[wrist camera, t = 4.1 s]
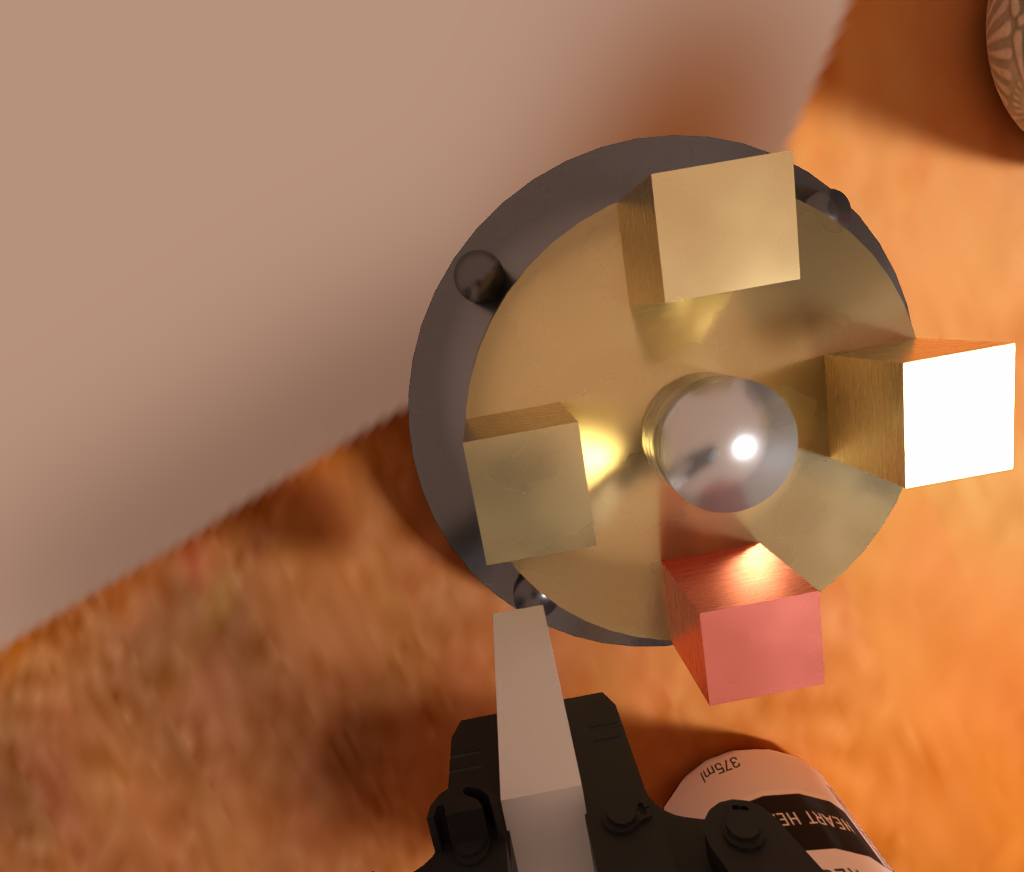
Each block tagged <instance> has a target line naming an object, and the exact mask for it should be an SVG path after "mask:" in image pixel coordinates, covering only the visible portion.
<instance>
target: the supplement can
mask: <svg viewBox="0 0 1024 872" xmlns="http://www.w3.org/2000/svg"><path fill="white" fill-rule="evenodd" d="M731 799H736V800H746V801H750V802H752V803H755V804H757V805H759V806H762V807H763V808H765V809H766V810H767V811H768V812H769V813H771V814H772V815H773V816H774V817H775V818H776V819H777V820H778V821H779V822H780V823H781V824H782V825H783V826H784V828H785V829H786V830H787V831H788V832H789V833H790V834H791V835H792V836H793V837H794V839H795V840H796V841H797V842H798V843H799V844H800V845H801V846H802V847H803V848H804V850H805V851H806V852H807V853H808V854H809V855H810V856H811V857H812V858H813V859H814V861H815V862H816V863H817V864H818V865H819V866H820V867H821V868H822V869H823V870H824V872H894V871H893V870H892V869H891V867H890V866H889V865H888V863H887V862H886V861H885V859H884V858H883V857H882V855H881V854H880V853H879V851H878V850H877V849H876V847H875V846H874V845H873V843H872V842H871V841H870V839H869V838H868V837H867V835H866V834H865V833H864V831H863V830H862V829H861V827H860V826H859V825H858V823H857V822H856V821H855V819H854V818H853V817H852V815H851V814H850V813H849V811H848V810H847V808H846V807H845V806H844V804H843V803H842V802H841V800H840V799H839V798H838V796H837V795H836V794H835V792H834V791H833V790H832V788H831V787H830V786H829V784H828V783H827V782H826V780H825V779H824V778H823V776H822V775H821V774H820V773H819V772H818V771H817V770H815V769H814V768H813V767H811V766H810V765H808V764H807V763H806V762H804V761H803V760H802V759H800V758H799V757H797V756H793V755H789V754H786V753H782V752H778V751H774V750H770V749H762V750H761V749H747V750H732V751H729V752H726V753H724V754H721V755H718V756H716V757H713V758H711V759H708V760H706V761H704V762H703V763H702V764H701V765H699V766H698V767H697V768H695V769H694V770H693V771H692V772H690V773H689V774H688V775H686V776H685V777H684V779H683V780H682V782H681V783H680V785H679V786H678V788H677V789H676V791H675V792H674V794H673V795H672V796H671V798H670V799H669V801H668V802H667V804H666V805H665V807H664V810H665V811H667V812H669V813H672V814H674V815H678V816H683V817H689V818H698V819H705V817H706V815H707V813H708V811H709V810H710V809H711V808H712V807H714V806H715V805H716V804H718V803H719V802H723V801H727V800H731Z"/></svg>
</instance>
